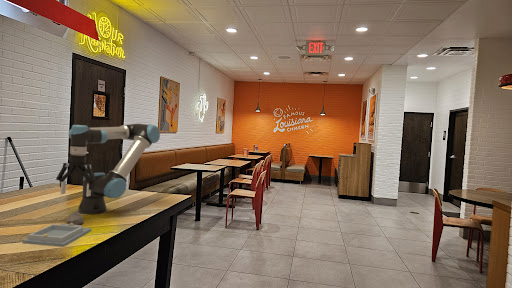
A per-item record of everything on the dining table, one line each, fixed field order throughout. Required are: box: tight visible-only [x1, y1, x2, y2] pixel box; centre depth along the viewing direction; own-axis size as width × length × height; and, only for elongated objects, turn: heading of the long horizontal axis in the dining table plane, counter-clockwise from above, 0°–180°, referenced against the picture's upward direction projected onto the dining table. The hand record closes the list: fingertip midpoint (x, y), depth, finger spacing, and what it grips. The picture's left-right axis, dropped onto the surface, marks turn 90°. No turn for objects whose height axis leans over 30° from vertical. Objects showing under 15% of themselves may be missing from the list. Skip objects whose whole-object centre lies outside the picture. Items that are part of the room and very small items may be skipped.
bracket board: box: [22, 223, 92, 248], centre depth 149 cm, size 22×18×4 cm
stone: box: [65, 210, 85, 225], centre depth 169 cm, size 8×10×6 cm
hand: (75, 194), depth 168 cm, fingers open, 13 cm apart
